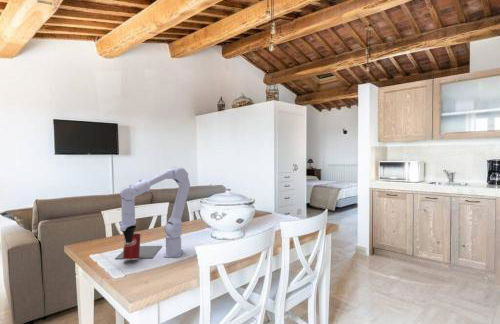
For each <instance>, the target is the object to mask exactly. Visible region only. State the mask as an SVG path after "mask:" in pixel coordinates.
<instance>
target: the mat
mask: <svg viewBox="0 0 500 324" xmlns="http://www.w3.org/2000/svg"><path fill="white" fill-rule="evenodd" d="M161 248H163V245H140V252H139V259H138V260H143V259H144V260H146V259H147V260H151V259H153V258H154V257H155V256H156V255H157V253H159V251H161ZM114 260H123V251H121V252H120V253H119V254H118V255H117V256H116V257H115V258H114Z"/></svg>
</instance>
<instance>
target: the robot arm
mask: <svg viewBox="0 0 500 324" xmlns="http://www.w3.org/2000/svg"><path fill="white" fill-rule="evenodd" d="M165 180H174V181H175V183H176V184H177V186H178V189H177V194H176V195H175V201H174V203H173V208H172V211H171V216H170V217H169V218H168V221H167V223H166V224H165V226H164V229H163V230H164V233H165V234H166V235H165V253H164V255H163V258H179V257H181V256H182V254H183V252H184V249H182V237H181V236H182V234H183V233H182V232H183V229H182V226H183V222H182V221H183V220H182V217H183V213H184V210H185V205H186V203H187V199H188V195H189V192H190V191H189V190H190V189H191V188H190V187H191V183H190V178H189V173H188V171H187V170H186V169H185V168H184V167H177V166H173V167H171V168H168V169H166V170H163V171H162V172H159V173H158V174H155V176H153V177H151V178H149V179H147V178H143V179H141V178H140V179H138V181H137V182H135V183H133V184H129V185H128V186H129V187H127V186H125V187H123V188H122V189H121V190H120V192H119V196H120V197H121V222H119V223H118V224H119V228H120V229H119V230H120V232H121V233H122V234H123V237H124V236H125V240H126V243H131V242H132V238H133V234H134V233H135V230H136V228H137V225H136V224H137V219H136V207H135V203H136V202H135V199H136V197H137V196H140V195H142V194H144V193H145V192H148V191H150V190H151V187H152V186H154V185H156V184H159V183H161V182H162V181H165Z"/></svg>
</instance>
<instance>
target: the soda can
mask: <svg viewBox="0 0 500 324" xmlns="http://www.w3.org/2000/svg"><path fill="white" fill-rule="evenodd" d="M141 236H142V234H141V233H136V232H134V234H133V238H132V242H131V243H126V240H125V236H124V235H123V237H124V239H123V249H122V252H123V259H122V261H138V260H140V259H139V252H140V246H141V239H142V238H141Z"/></svg>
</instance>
